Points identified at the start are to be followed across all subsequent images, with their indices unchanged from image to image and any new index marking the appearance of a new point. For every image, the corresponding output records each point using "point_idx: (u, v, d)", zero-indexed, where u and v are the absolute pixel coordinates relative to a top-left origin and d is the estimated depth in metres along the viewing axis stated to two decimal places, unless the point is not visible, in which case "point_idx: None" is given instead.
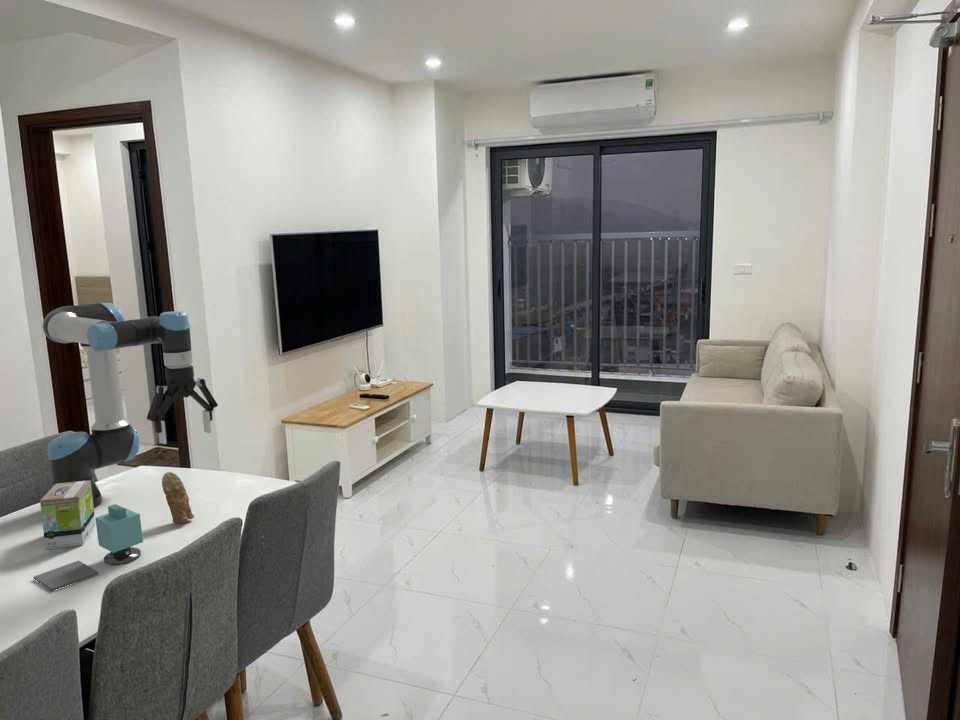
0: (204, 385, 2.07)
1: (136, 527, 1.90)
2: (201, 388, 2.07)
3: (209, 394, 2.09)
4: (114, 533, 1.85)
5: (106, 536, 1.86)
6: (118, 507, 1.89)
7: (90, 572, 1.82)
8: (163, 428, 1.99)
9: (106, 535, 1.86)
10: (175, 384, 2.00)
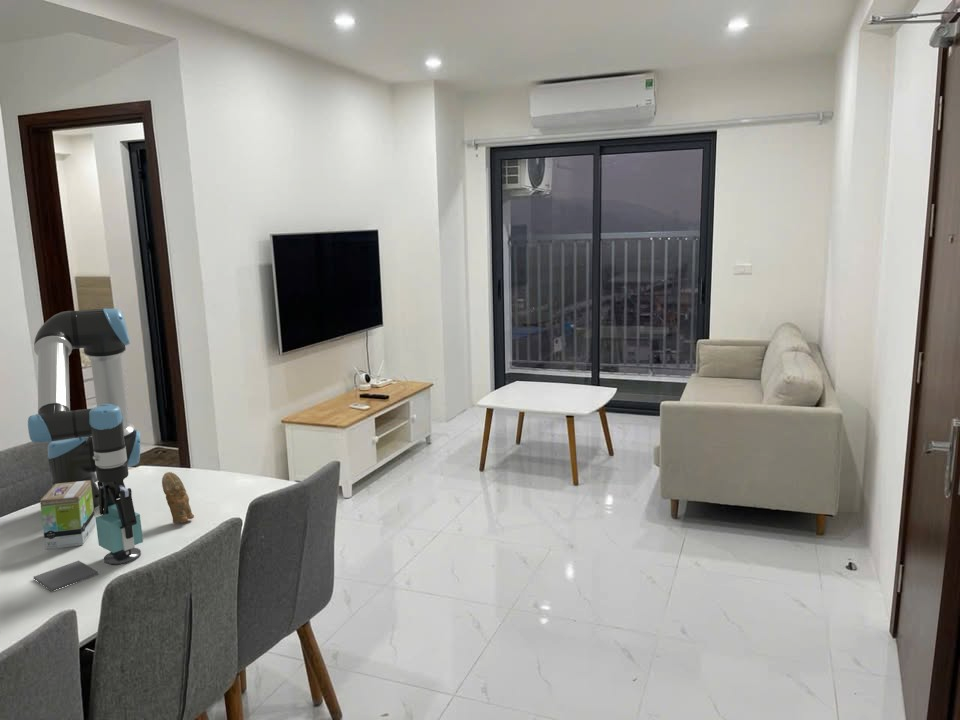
0: (121, 498, 1.84)
1: (136, 527, 1.90)
2: None
3: (123, 510, 1.84)
4: (114, 533, 1.85)
5: (106, 536, 1.86)
6: None
7: (90, 572, 1.82)
8: None
9: (106, 535, 1.86)
10: None
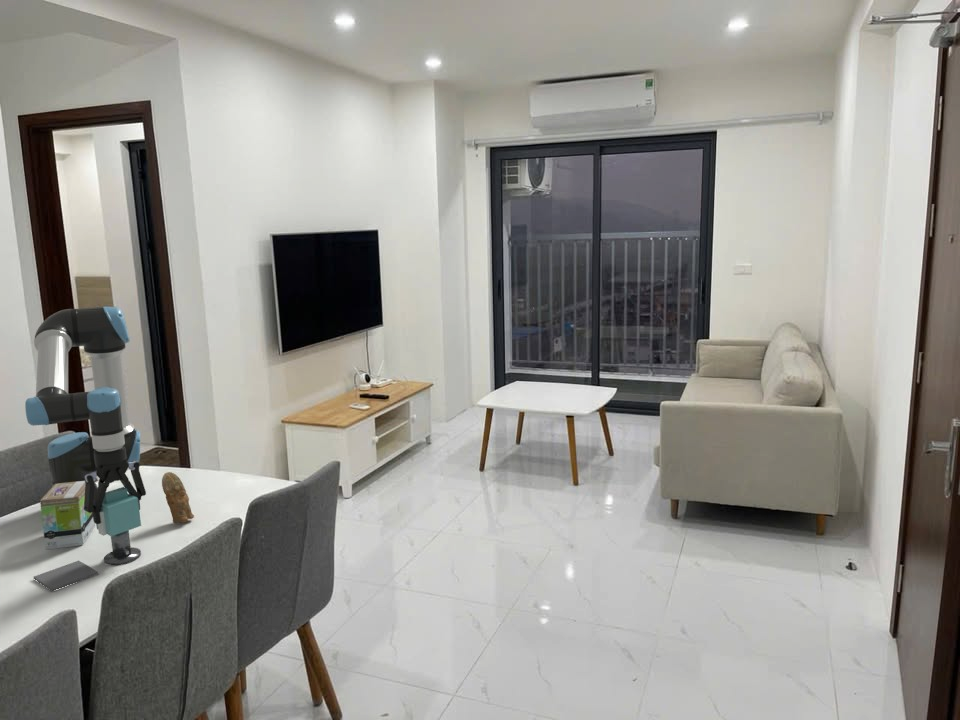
0: None
1: (106, 518, 1.85)
2: None
3: None
4: None
5: None
6: (114, 491, 1.88)
7: (90, 572, 1.82)
8: None
9: None
10: None
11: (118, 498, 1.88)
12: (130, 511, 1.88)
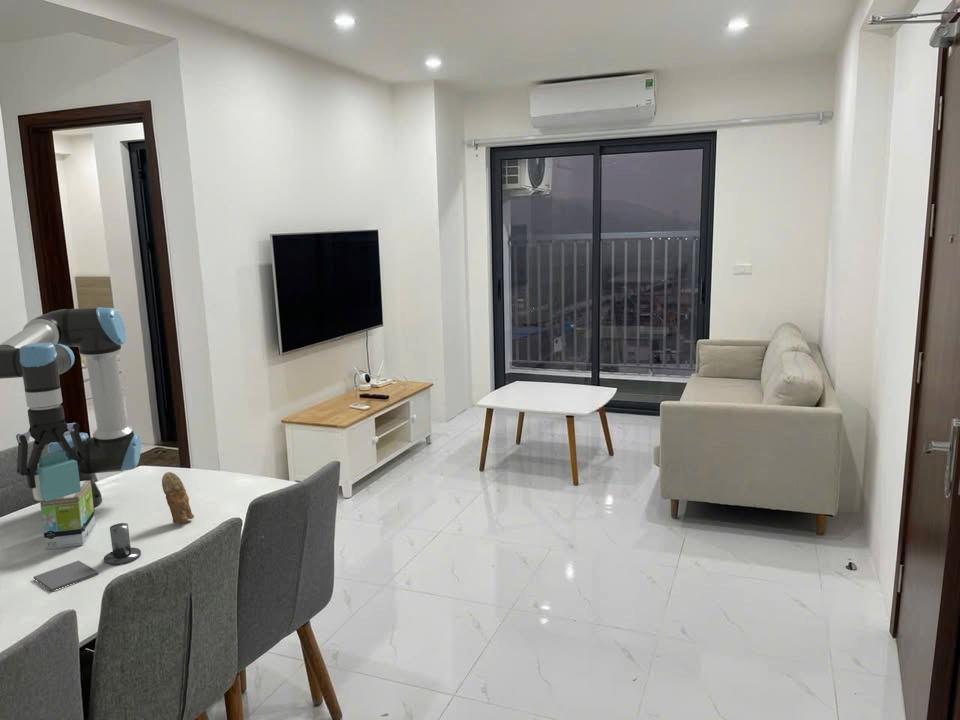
0: None
1: (42, 482, 1.72)
2: None
3: None
4: None
5: None
6: (51, 454, 1.75)
7: (90, 572, 1.82)
8: None
9: None
10: None
11: (55, 461, 1.76)
12: (68, 475, 1.75)
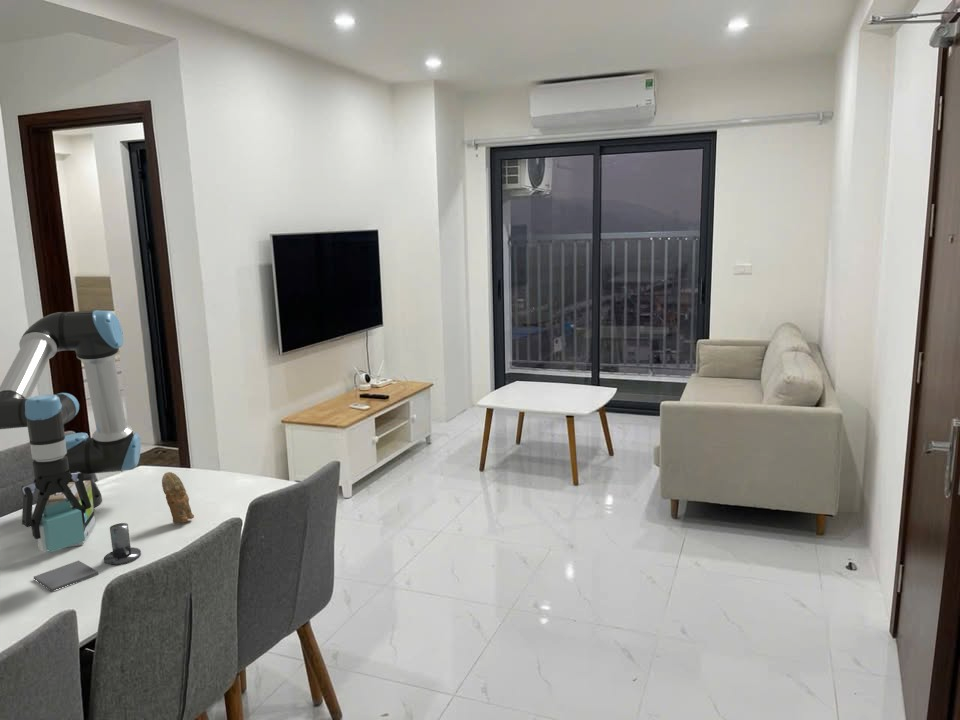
0: None
1: (46, 533, 1.74)
2: None
3: None
4: None
5: None
6: (55, 504, 1.77)
7: (90, 572, 1.82)
8: None
9: None
10: None
11: (60, 511, 1.78)
12: (72, 525, 1.77)
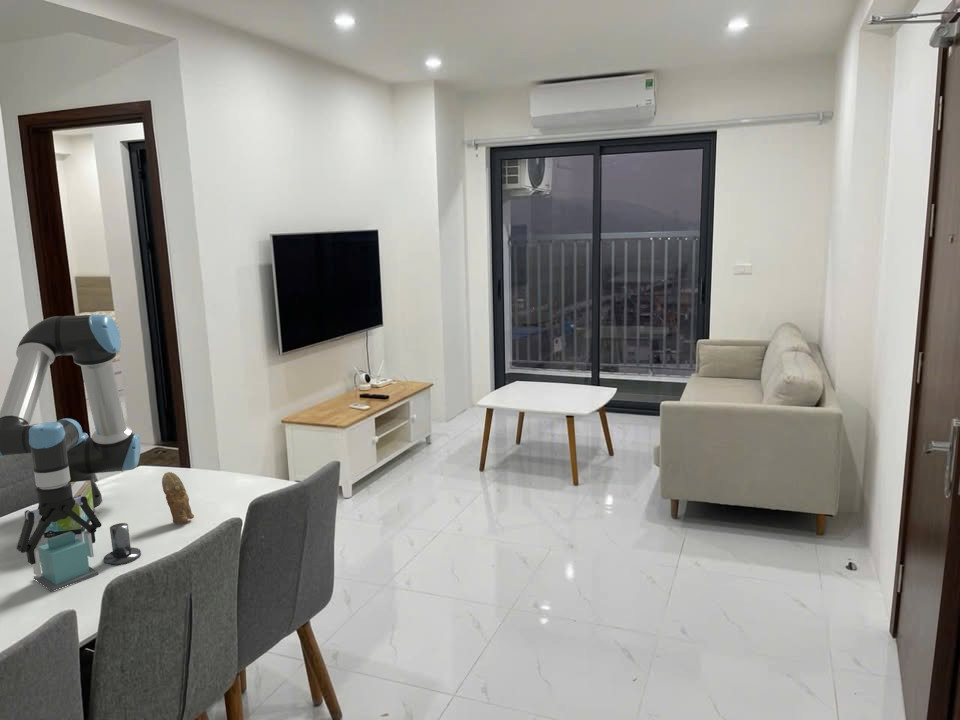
0: None
1: (51, 566, 1.76)
2: None
3: None
4: (41, 558, 1.79)
5: None
6: (60, 536, 1.79)
7: (90, 572, 1.82)
8: None
9: None
10: None
11: (65, 543, 1.79)
12: (77, 557, 1.79)
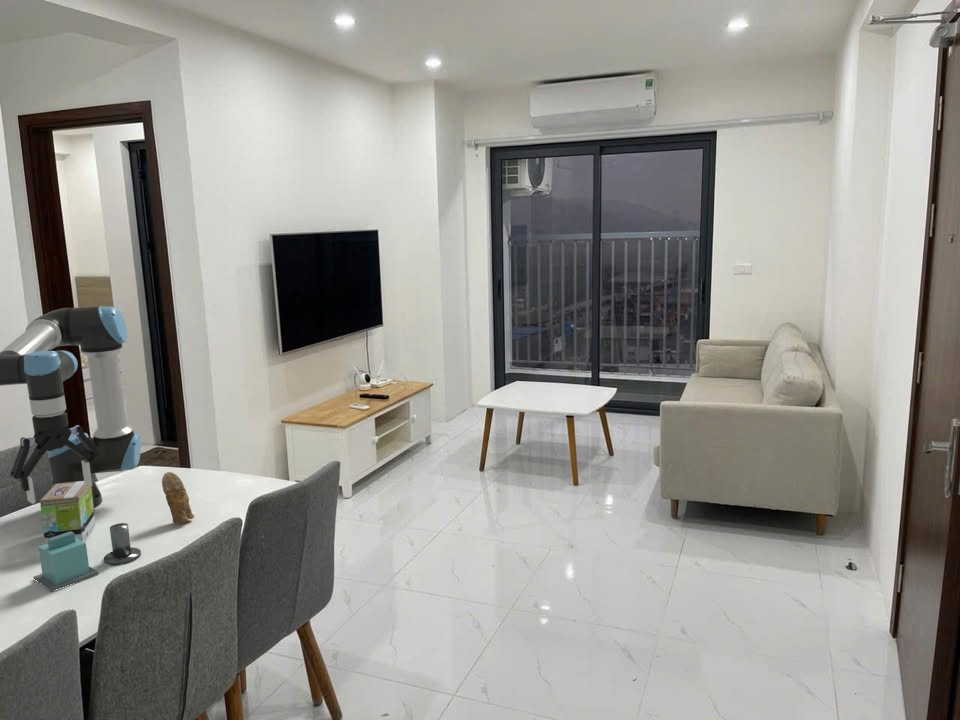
0: None
1: (51, 566, 1.76)
2: None
3: None
4: (41, 558, 1.79)
5: None
6: (60, 536, 1.79)
7: (90, 572, 1.82)
8: None
9: None
10: None
11: (65, 543, 1.79)
12: (77, 557, 1.79)
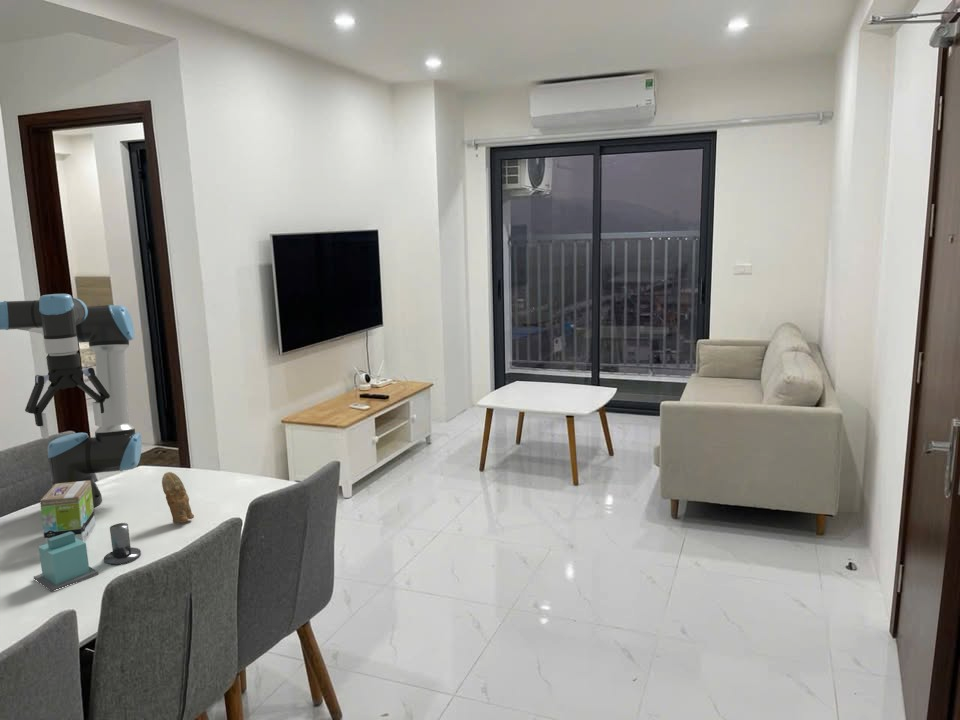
0: None
1: (51, 566, 1.76)
2: None
3: None
4: (41, 558, 1.79)
5: None
6: (60, 536, 1.79)
7: (90, 572, 1.82)
8: None
9: None
10: None
11: (65, 543, 1.79)
12: (77, 557, 1.79)
